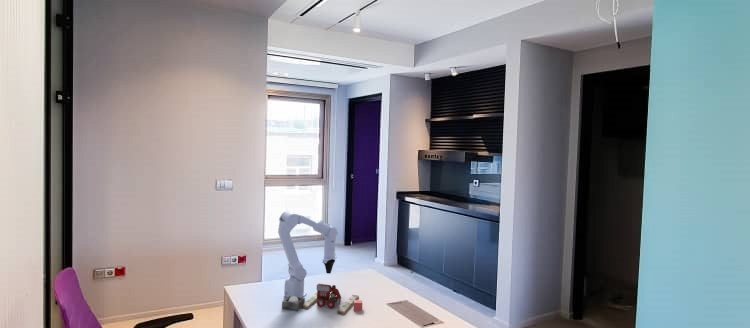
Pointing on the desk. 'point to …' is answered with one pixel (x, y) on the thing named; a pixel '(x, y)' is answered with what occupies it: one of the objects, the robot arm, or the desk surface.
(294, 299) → the dome button
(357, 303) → the red die
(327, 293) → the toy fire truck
